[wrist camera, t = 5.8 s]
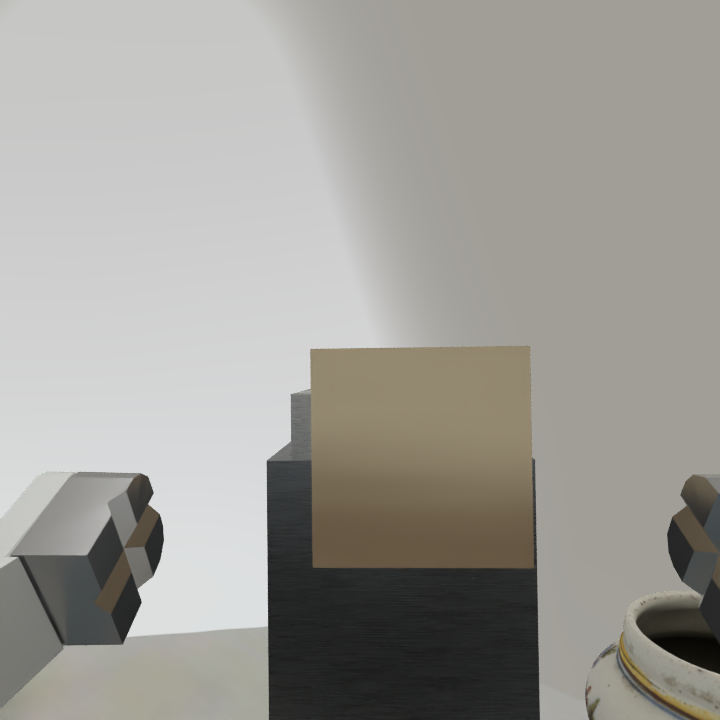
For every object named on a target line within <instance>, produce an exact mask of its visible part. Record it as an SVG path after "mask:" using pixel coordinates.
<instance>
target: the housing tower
mask: <svg viewBox="0 0 720 720" xmlns="http://www.w3.org/2000/svg"><path fill="white" fill-rule="evenodd" d="M532 481H533V535H534V568H313V551H312V453H311V389H309V390H305V391H301V392H298V393H294V394H291V442H290V443H289V444H287V445H286V446H285V447H284V448H282V449H281V450H280V451H279V452H277V453H276V454H275V455H274V456H272V457H271V458H270V459H268V460H267V530H268V531H267V532H268V535H267V536H268V537H267V538H268V539H267V540H268V657H269V720H540V705H539V653H538V599H537V552H536V551H537V546H536V495H535V494H536V491H535V459H533V458H532Z"/></svg>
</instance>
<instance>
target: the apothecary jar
mask: <svg viewBox="0 0 720 720" xmlns="http://www.w3.org/2000/svg"><path fill="white" fill-rule="evenodd" d="M700 599H701V595H700V594H699V593H698V592H696V591H666V592H660V593H654V594H651V595H648V596H645V597H642V598H640V599H638V600H636V601H635V602H633V603H632V604H631V605H630V606H629V608H628V609H627V611H626V615H625V619H624V625H623V632H622V634H621V637H620V639H619V640H618V641H616V642H614V643H613V644H611V645H610V646H609V647H608V648H606V649H605V650H604V651H603V652H602V653H601V654H600V655H599V657H598V658H597V659H596V661H595V662H594V664H593V666H592V668H591V670H590V672H589V675H588V679H587V683H586V693H585V697H586V707H587V712H588V717H589V720H720V644H719V642H718V641H717V639H716V637H715V636H714V634H713V632H712V631H711V629H710V627H709V626H708V624H707V622H706V621H705V619H704V617H703V616H702V614H701V612H700V611H699V604H700Z"/></svg>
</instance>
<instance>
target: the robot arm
mask: <svg viewBox="0 0 720 720" xmlns="http://www.w3.org/2000/svg"><path fill="white" fill-rule="evenodd" d="M152 495H153V490H152V487H151V484H150V481H149V478H148V477H147V476H145V475H143V474H141V473H102V472H78V473H74V472H46V473H44V474H41V475H39V476H37V477H36V478H35V479H34V480H33V482H32V483H31V484H30V485H29V486H28V488H27V489H26V490H25V491H24V492H23V493H22V495H21V496H20V497H19V498H18V499H17V501H16V502H15V503H14V504H13V505H12V506H11V508H10V509H9V510H8V511H7V512H6V514H5V515H4V516H3V517H2V518H1V519H0V708H1V707H3V706H4V705H5V704H6V703H7V702H8V701H9V700H10V699H11V698H12V697H13V696H14V695H15V694H16V693H17V692H18V691H19V690H21V689H22V688H23V687H24V686H25V685H26V684H27V683H28V682H29V681H30V680H31V679H32V678H33V677H34V676H35V675H36V674H38V673H39V672H40V671H41V670H42V669H43V668H44V667H45V666H46V665H47V664H48V663H49V662H50V661H51V660H52V659H53V658H54V657H56V656H57V655H58V654H59V653H60V652H61V651H62V650H63V646H62V645H122V644H123V643H124V640H125V638H126V636H127V634H128V632H129V629H130V627H131V625H132V623H133V620H134V618H135V616H136V613H137V611H138V609H139V607H140V605H141V603H142V602H141V599H140V596H139V593H138V588H139V587H140V586H142V585H143V584H144V583H145V582H147V581H148V580H149V579H150V578H152V577H153V576H154V573H155V571H156V569H157V566H158V564H159V561H160V558H161V553H162V546H163V542H164V536H163V525H162V521H161V517H160V514H159V513H158V512H156V511H155V510H154V509H153V508H152V507H150V506H149V505H148V503H149V501H150V499H151V497H152ZM681 497H682V498H683V500H684V502H685V503H686V505H687V506H686V507H685V508H684V509H682V510H681V511H680V512H678V513H677V514H676V515H674V516H673V517H672V520H671V523H670V527H669V530H668V533H667V537H668V549H669V554H670V557H671V560H672V563H673V566H674V568H675V570H676V571H677V573H678V575H679V577H680V578H681V580H682V582H684V583H685V584H686V585H688V586H689V587H691V588H692V589H693V590H695V591H696V592H698V593H699V594H700V595H701V599H700V604H699V611H700V612H701V614H702V616H703V617H704V619H705V621H706V622H707V624H708V626H709V627H710V629H711V631H712V632H713V634H714V636H715V637H716V639H717V641H718V642H719V644H720V475H692V476H691V477H690V478H689V479H688V480H687V481H686V482H685V484H684V487H683V489H682V492H681Z"/></svg>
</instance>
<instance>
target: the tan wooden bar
mask: <svg viewBox="0 0 720 720" xmlns="http://www.w3.org/2000/svg"><path fill="white" fill-rule="evenodd" d="M310 353H311V453H312V551H313V568H534V535H533V481H532V430H531V429H532V428H531V377H530V376H531V373H530V346H501V347H500V346H499V347H498V346H496V347H426V348H355V349H354V348H353V349H352V348H351V349H311V350H310Z"/></svg>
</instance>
